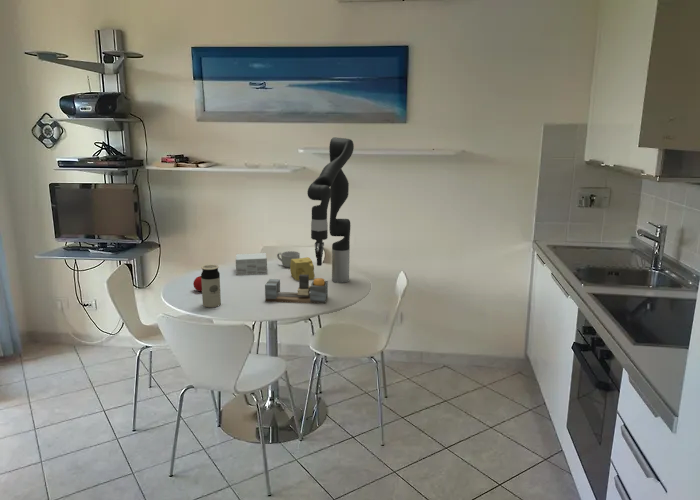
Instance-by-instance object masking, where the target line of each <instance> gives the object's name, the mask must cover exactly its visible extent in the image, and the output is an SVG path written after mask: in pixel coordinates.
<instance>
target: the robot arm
mask: <svg viewBox="0 0 700 500" xmlns="http://www.w3.org/2000/svg"><path fill="white" fill-rule="evenodd" d="M354 148H355V145H354V142H353V140H352V139H351V138H346V137H345V138H344V137H332V138H331V139H330V142H329V149H328V150H329V163H327V164H326V165H325V166H324V167H323V169H322V170H321V172H320V174H319V176H318V177H317V178H316V179H315V180H313V182H311V184H309V187H308V189H307V197H308V198H309V199H310V200H311V201H320V204H318V205H317V204H316V205H313V206H312V207H311V221H310V222H311V223H310V235H311V236H310V239H311V240H313V241H315V243H314V250H315V251H314V252H315V258H316V266H318V267H320V266H321V267H322V264H323V254H324V253H323V252H324V246H325V242H323V241H325V240H328V235H330V236H331V237H343V238H341V239H340V240H338V241H335V242H333V243H332V244H331V281H332V282H334V283H339V284H340V283H347V282H349V281H350V257H351V256H350V253H351V252H350V250H351V249H350V246H351V245H350V239H351V238H350V237H351V220H350V219H349V218H337V215H338V213H339V211H340V209H341V208H342V206H343V205H344V204H345V202H346V200H347V199H348V197H349V191H350V190H349V186H350V185H349V180H348V178H347V176H346V174H345V173H344V171H343V169H342V168H343V167H344V166H345V165H346V164H347V162H348V161H349V160H350V159H351V157H352V155H353V153H354ZM329 205H330V208H329ZM328 208H329V212H330V213H329V230H328ZM328 231H329V234H328Z"/></svg>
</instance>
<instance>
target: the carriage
mask: <svg viewBox="0 0 700 500" xmlns="http://www.w3.org/2000/svg"><path fill="white" fill-rule="evenodd" d="M309 281H310V280H309V275H302V274H300V276H299V281H298V282H299V283H298V284H299V285H298V288H297V293H298V295H309V293H310V286H311V285H309V284H310V283H309Z"/></svg>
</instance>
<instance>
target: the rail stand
mask: <svg viewBox="0 0 700 500" xmlns="http://www.w3.org/2000/svg"><path fill="white" fill-rule="evenodd" d="M328 283H329V281H328V280H324V286H316V285H314V279H312V282H311V284H310V285H309V286H310V293H309V295H298V291H297V292H295V291H294V292H289V291H281V279H279V278H278V279H277V278H273V279H272V278H269V279H268V280H267V282H266V283H265V285H264V296H265V297H264V298H265V303H266V302H267V303H268V302H270V303H293V304H294V303H295V304H317V305H318V304H322V305H323V304H324V305H325V304H326V302H327V300H328V296H329V295H328V290H329V289H328V285H329V284H328Z"/></svg>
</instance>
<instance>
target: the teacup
mask: <svg viewBox="0 0 700 500" xmlns="http://www.w3.org/2000/svg"><path fill="white" fill-rule="evenodd" d="M300 254H301V253H300V252H299V251H295V250H289V251H288V250H287V251H283V252H278V253H277V254H276V257H277V259H278V260H279V261H280V262H281V264H282V266H284V267H285V268H289V269H290V263H291V259H299V258H301V255H300ZM280 256H281V257H280Z"/></svg>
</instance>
